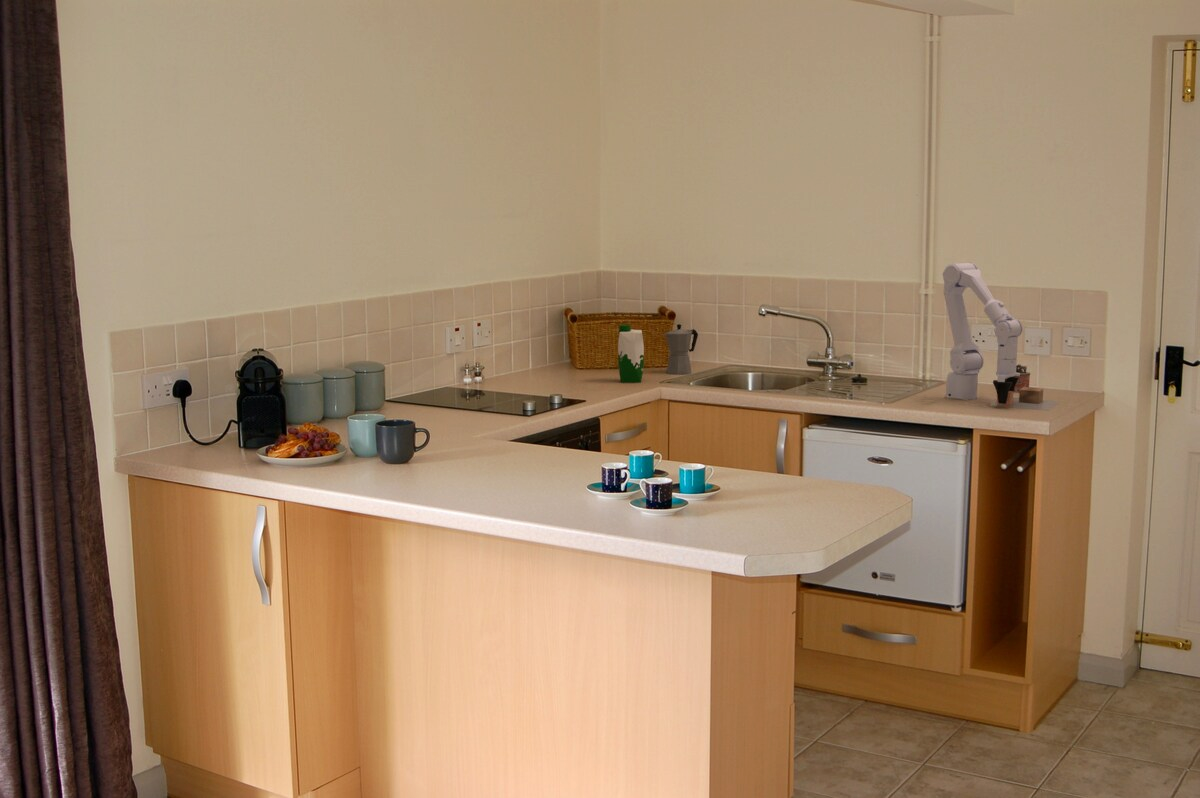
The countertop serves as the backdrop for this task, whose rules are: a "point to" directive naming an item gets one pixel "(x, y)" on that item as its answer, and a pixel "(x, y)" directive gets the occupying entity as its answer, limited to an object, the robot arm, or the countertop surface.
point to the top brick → (1009, 399)
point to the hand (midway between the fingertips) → (1004, 401)
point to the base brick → (1031, 395)
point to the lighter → (1022, 378)
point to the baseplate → (1030, 404)
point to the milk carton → (630, 354)
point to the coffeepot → (680, 350)
